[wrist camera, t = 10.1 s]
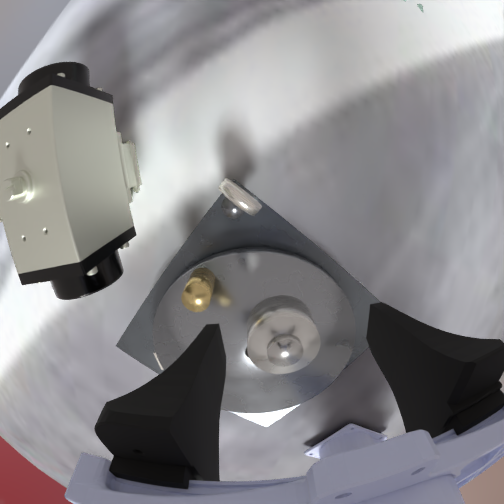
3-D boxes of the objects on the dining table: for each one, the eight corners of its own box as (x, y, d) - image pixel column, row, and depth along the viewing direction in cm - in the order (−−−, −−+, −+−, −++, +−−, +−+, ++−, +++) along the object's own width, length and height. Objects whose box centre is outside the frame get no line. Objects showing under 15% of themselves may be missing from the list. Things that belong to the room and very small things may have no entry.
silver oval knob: (260, 200, 19) (263, 210, 15) (245, 218, 20) (244, 233, 16) (228, 175, 19) (223, 179, 15) (214, 194, 19) (205, 202, 15)
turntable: (347, 228, 20) (369, 245, 16) (349, 387, 25) (360, 416, 21) (127, 269, 20) (104, 292, 16) (189, 410, 26) (183, 440, 22)
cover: (302, 285, 20) (313, 311, 16) (318, 337, 21) (328, 366, 18) (236, 308, 20) (235, 336, 17) (259, 356, 22) (261, 386, 18)
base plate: (395, 314, 23) (397, 318, 23) (266, 423, 28) (266, 427, 27) (234, 178, 19) (233, 178, 19) (118, 342, 24) (115, 345, 23)
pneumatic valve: (138, 90, 17) (38, 40, 5) (163, 236, 20) (84, 319, 9) (80, 113, 17) (-31, 99, 6) (105, 247, 21) (11, 321, 9)
